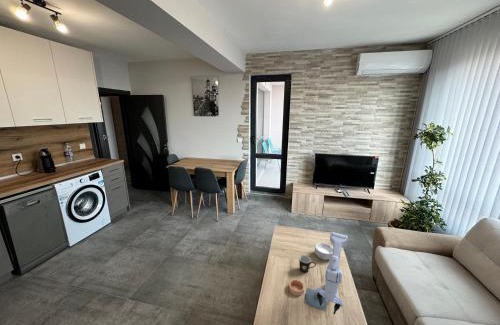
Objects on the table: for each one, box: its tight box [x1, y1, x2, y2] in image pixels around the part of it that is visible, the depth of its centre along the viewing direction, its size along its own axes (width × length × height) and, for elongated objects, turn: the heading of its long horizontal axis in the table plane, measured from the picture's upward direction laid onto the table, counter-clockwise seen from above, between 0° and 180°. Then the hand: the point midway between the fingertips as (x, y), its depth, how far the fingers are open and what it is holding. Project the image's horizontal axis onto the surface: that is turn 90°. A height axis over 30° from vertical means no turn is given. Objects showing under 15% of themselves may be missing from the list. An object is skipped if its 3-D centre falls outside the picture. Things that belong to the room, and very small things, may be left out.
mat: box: [303, 287, 327, 312], centre depth 131 cm, size 13×13×1 cm
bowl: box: [288, 278, 305, 297], centre depth 138 cm, size 10×10×4 cm
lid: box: [305, 289, 328, 309], centre depth 131 cm, size 13×13×4 cm
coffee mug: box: [298, 254, 317, 274], centre depth 154 cm, size 12×9×10 cm
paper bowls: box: [314, 242, 333, 261], centre depth 171 cm, size 15×15×8 cm
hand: (327, 308), depth 115 cm, fingers open, 7 cm apart
